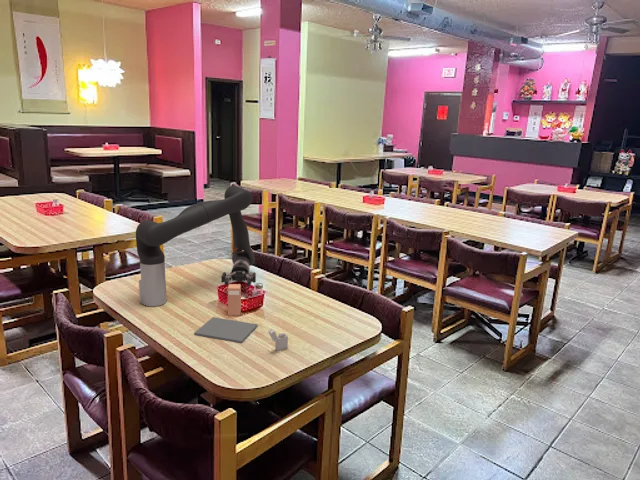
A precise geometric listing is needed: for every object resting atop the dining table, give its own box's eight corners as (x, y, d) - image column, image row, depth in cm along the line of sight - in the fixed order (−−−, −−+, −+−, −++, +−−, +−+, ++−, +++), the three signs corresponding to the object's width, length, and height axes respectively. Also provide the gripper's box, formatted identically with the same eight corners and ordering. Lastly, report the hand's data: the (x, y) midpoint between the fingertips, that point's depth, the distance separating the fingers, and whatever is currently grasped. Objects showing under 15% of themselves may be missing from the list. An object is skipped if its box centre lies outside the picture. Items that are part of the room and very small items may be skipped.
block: (227, 315, 186) (227, 288, 183) (229, 310, 190) (228, 284, 187) (239, 315, 186) (239, 288, 183) (240, 310, 190) (240, 284, 188)
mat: (194, 334, 169) (194, 332, 169) (213, 319, 182) (213, 317, 182) (241, 343, 164) (241, 341, 164) (257, 326, 177) (257, 324, 177)
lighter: (284, 345, 164) (285, 323, 162) (287, 347, 163) (288, 325, 161) (267, 351, 160) (268, 329, 157) (270, 353, 158) (271, 331, 156)
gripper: (224, 262, 211) (219, 275, 195) (256, 262, 212) (255, 275, 197) (224, 278, 213) (220, 292, 197) (257, 278, 214) (255, 292, 199)
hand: (237, 283), depth 197 cm, fingers open, 8 cm apart
